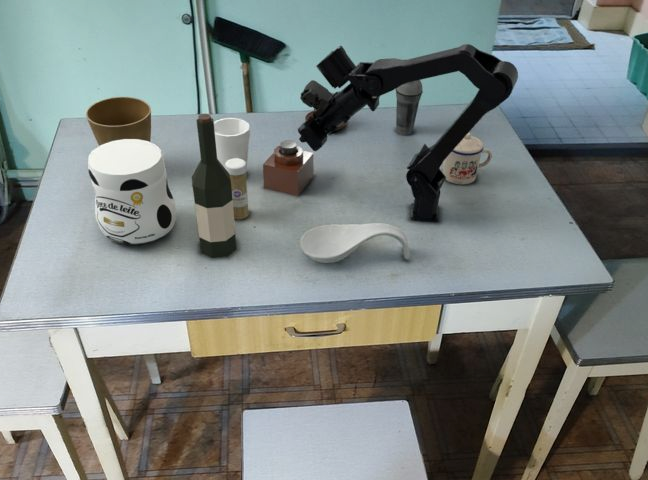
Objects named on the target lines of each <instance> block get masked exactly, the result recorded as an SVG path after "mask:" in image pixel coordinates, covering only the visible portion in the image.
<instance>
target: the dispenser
mask: <svg viewBox="0 0 648 480" xmlns="http://www.w3.org/2000/svg"><path fill="white" fill-rule="evenodd" d="M262 170H263V172H262V173H263V174H262V175H263V188H264V189H266V190H271V191H276V192H280V193H283V194H288V195H292V196H296V197H298V196H299V195H300V194H301V192H302V191H303V190H304V189H305V187H306V186H307V185H308V184H309V182H310V181H311V180H312V179H313V178H314V152H312V151H311V152H310V151H305V150H304V149H303V148H302V147H301V146H299V145H297V153H296V154H295V155H292V156H285V155H282V154H281V153H280V145H277V146H276V147H275V148H274V149H273V153H272V154H271V155H270V156H269V157H268V158H267V160H265V162H264V163H263V164H262Z"/></svg>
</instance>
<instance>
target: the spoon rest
mask: <svg viewBox="0 0 648 480" xmlns="http://www.w3.org/2000/svg"><path fill="white" fill-rule="evenodd" d="M379 236H387V237H391V238H394V239H396V240H397V241H398V242H399V243H400V244H401V246H402V247H401V248H402V255H403V258H404V259H405V260H410V257H411V251H410V247H409V241H408V236H407V235H406V233H405V232H404V231H403V230H402V229H400V228H399V227H397V226H394V225H391V224H388V223H380V222H376V223H372V222H371V223H357V224H355V223H351V224H340V223H339V224H324V225H318V226H316V227H315V226H314V227H313V228H311V229H309V230H307V231H305V232H304V234H303V235H302V237H301V238H300V242H299V243H300V244H299V245H300V249H301V251H302V252H303V253H304V254H305V256H307V257H308V258H309V259H311V260H312V261H315V262H317V263H323V264H334V263H339V262H340V261H342V260H344V259H346V258H347V257H348V256H350V255H351V254H352V253H353V252H355V251H356V250H357V249H358V248H360V247H361V246H363V244H365V243H366V242H368V241H369V240H371V239H373V238H375V237H379Z"/></svg>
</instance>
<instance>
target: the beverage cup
mask: <svg viewBox="0 0 648 480" xmlns="http://www.w3.org/2000/svg"><path fill="white" fill-rule="evenodd" d="M423 93H424V91H423V83H422V81H421V80H417V81H413V82H408V83H406V84H403V85H401V86H400V87H398V88H396V89H395V96H396V97H395V98H396V112H395V113H396V114H395V115H396V118H395V119H396V120H395V128H396V133H397V134H399V135H402V136H408V135H411V134H412V133H413V131H414V127H415V122H416V117H417V113H418V109H419V104H420V101H421V98H422V94H423Z"/></svg>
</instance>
